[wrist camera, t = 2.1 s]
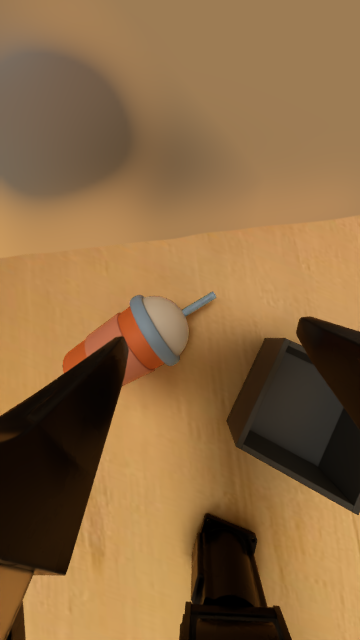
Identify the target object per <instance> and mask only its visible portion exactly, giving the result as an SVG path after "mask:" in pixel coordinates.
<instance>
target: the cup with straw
mask: <svg viewBox="0 0 360 640" xmlns="http://www.w3.org/2000/svg"><path fill="white" fill-rule="evenodd" d="M215 298H216V295H215V294H214V292H211V293H209V294H208V295H206V296H204V297H203V298H201V299H199V300H198V301H196V302H194V303H193V304H191V305H189V306H188V307H186V308H184V309H183V310H181V309H180V308H179V307H178V306H177V305H176V304H175V303H174V302H172V301H171V300H169V299H167V298H164V297H160V296H149V297H143V296H142V295H137V296H135V297H133V298H132V299H131V300H130V307H129V308H127V309H126V310H125V311H123V312H122V313H118V314H116V315H115V316H113V317H112V318H111V319H109V320H108V321H107V322H105V323H104V324H103V325H101V326H100V327H99V328H97V329H96V330H95V331H93V332H92V333H91V334H89V335H88V336H87V338H86V339H85V340H84V341H83V342H81V343H80V344H79V345H77V346H76V347H75V348H73V349H72V350H71V351H69V352H68V353H67V354H66V355H65V357H64V360H63V371H64V373H65V372H67V371H68V370H70V369H71V368H72V367H74V366H75V365H77V364H78V363H80V362H81V361H82V360H84V359H85V358H87V357H88V356H89V355H91V354H92V353H94V352H95V351H97V350H98V349H99V348H101V347H102V346H104V345H105V344H106V343H108V342H109V341H111V340H112V339H114V338H115V337H120V336H123V337H124V338H125V340H126V343H127V346H128V349H129V354H128V359H127V365H126V371H125V376H124V380H123V384H122V386H123V385H126V384H128V383H130V382H132V381H134V380H136V379H138V378H140V377H142V376H144V375H146V374H148V373H150V372H152V371H154V370H155V368H157V367H159V366H161V365H163V364H166V365H168V366H173V365H175V364H176V363H178V361H179V360H180V354H181V352H182V351H183V350H184V348H185V347H186V344H187V342H188V337H189V327H188V323H187V320H186V316H187V315H189V314H191V313H192V312H194V311H196V310H197V309H199V308H201V307H202V306H204V305H205V304H207V303H209V302H210V301H212V300H214V299H215Z"/></svg>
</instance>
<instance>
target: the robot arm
mask: <svg viewBox="0 0 360 640" xmlns="http://www.w3.org/2000/svg"><path fill="white" fill-rule="evenodd" d="M296 334H297V337H298V338H299V340H300V342H301V344H302V346H303V348H304V349H305V351H306V353H307V355H308V357H309V358H310V360H311V362H312V363H313V365H314V366H315V368H316V369H317V370H318V372H319V373H320V375H321V376H322V377H323V379H324V380H325V382H326V383H327V385H328V386H329V387H330V389H331V390H332V392H333V393H334V394H335V396H336V397H337V399H338V400H339V402H340V403H341V404H342V406H343V407H344V409H345V410H346V411H347V413H348V414H349V416H350V417H351V419H352V420H353V421H354V423H355V424H356V426H357V427H358V428H359V430H360V332H359V331H356V330H352V329H349V328H346V327H343V326H340V325H336V324H333V323H330V322H327V321H323V320H320V319H317V318H314V317H301V318H300V319H299V322H298V327H297V331H296ZM128 354H129V349H128V346H127V343H126V340H125V338H124V337H123V336H120V337H115V338H114V339H112V340H111V341H109V342H108V343H106V344H105V345H104V346H102V347H101V348H99V349H98V350H97V351H95V352H94V353H92V354H91V355H89V356H88V357H87V358H85V359H84V360H82V361H81V362H80V363H78V364H77V365H75V366H74V367H72V368H71V369H70V370H68V371H67V372H65V373H64V374H63V375H61V376H60V377H58V378H57V379H55V380H54V381H53V382H51V383H50V384H48V385H47V386H45V387H44V388H43V389H41V390H40V391H38V392H37V393H35V394H34V395H32V396H31V397H29V398H28V399H26V400H24V401H23V402H21V403H20V404H18V405H17V406H15V407H14V408H12V409H10V410H9V411H7V412H6V413H4V414H3V415H1V416H0V640H25V626H24V611H23V601H22V600H23V598H24V596H25V593H26V591H27V588H28V586H29V584H30V581H31V579H32V576H33V575H66V572H67V569H68V566H69V563H70V560H71V556H72V553H73V550H74V546H75V543H76V539H77V536H78V533H79V529H80V526H81V523H82V519H83V516H84V512H85V509H86V506H87V502H88V499H89V496H90V492H91V489H92V485H93V482H94V478H95V475H96V471H97V468H98V465H99V461H100V458H101V455H102V451H103V448H104V444H105V441H106V438H107V434H108V431H109V428H110V424H111V421H112V417H113V414H114V411H115V407H116V404H117V401H118V397H119V394H120V390H121V387H122V384H123V380H124V376H125V371H126V365H127V359H128ZM208 519H209V521H208ZM251 538H253V539H251ZM256 544H257V538H256V535H255V533H253V532H251V531H249V530H246V529H244V528H241V527H239V526H236V525H234V524H232V523H229V522H227V521H224V520H222V519H219V518H217V517H215V516H212V515H210V514H206V515H205V516H204V520H203V524H202V527H201V531H200V532H199V533H197V536H196V540H195V544H194V548H193V552H192V575H191V601H192V604H191V602H186V605H185V614H183V620H182V623H181V624H180V636H179V640H292V639H291V636H290V633H289V631H288V628H287V625H286V623H285V620H284V617H283V615H282V612H281V609H280V607H279V606H273V608H272V607H267V603H266V599H265V595H264V591H263V588H262V584H261V580H260V576H259V572H258V568H257V565H256V561H255V557H254V553H255V549H256Z"/></svg>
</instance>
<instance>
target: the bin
mask: <svg viewBox="0 0 360 640" xmlns="http://www.w3.org/2000/svg"><path fill="white" fill-rule="evenodd" d="M227 423H228V426H229V429H230V432H231V435H232V437H233V440H234V443H235V446H236V447H238V448H239V449H241V450H243V451H245V452H247V453H248V454H250V455H252V456H254V457H255V458H257V459H259V460H261V461H263V462H264V463H266V464H268V465H270V466H271V467H273V468H275V469H277V470H279V471H280V472H282V473H284V474H286V475H287V476H289V477H291V478H293V479H295V480H296V481H298V482H300V483H302V484H303V485H305V486H307V487H309V488H311V489H312V490H314V491H316V492H318V493H320V494H321V495H323V496H325V497H327V498H328V499H330V500H332V501H334V502H336V503H337V504H339V505H341V506H343V507H344V508H346V509H348V510H350V511H352V512H353V513H355V514H357V515H359V512H360V430H359V428H358V427H357V426H356V424H355V423H354V421H353V420H352V419H351V417H350V416H349V414H348V413H347V411H346V410H345V409H344V407H343V406H342V404H341V403H340V402H339V400H338V399H337V397H336V396H335V394H334V393H333V392H332V390H331V389H330V387H329V386H328V385H327V383H326V382H325V380H324V379H323V377H322V376H321V375H320V373H319V372H318V370H317V369H316V368H315V366H314V365H313V363H312V362H311V360H310V358H309V357H308V355H307V353H306V351H305V349H304V348H303V346H301V345H299V344H297V343H295V342H292V341H290V340H288V339H286V338H265V339H264V341H263V344H262V346H261V348H260V350H259V352H258V354H257V356H256V359H255V361H254V363H253V365H252V367H251V369H250V371H249V374H248V376H247V378H246V380H245V382H244V384H243V387H242V389H241V391H240V393H239V395H238V397H237V399H236V402H235V404H234V406H233V408H232V410H231V412H230V414H229V417H228V419H227Z"/></svg>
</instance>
